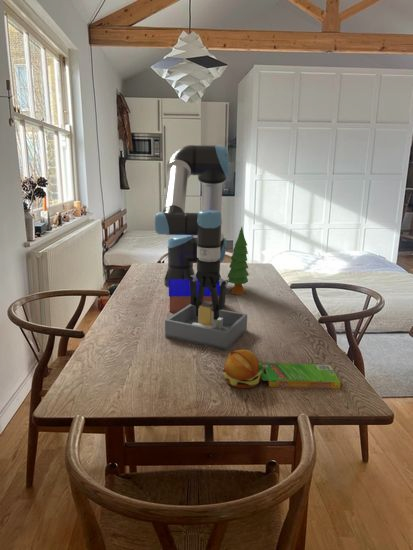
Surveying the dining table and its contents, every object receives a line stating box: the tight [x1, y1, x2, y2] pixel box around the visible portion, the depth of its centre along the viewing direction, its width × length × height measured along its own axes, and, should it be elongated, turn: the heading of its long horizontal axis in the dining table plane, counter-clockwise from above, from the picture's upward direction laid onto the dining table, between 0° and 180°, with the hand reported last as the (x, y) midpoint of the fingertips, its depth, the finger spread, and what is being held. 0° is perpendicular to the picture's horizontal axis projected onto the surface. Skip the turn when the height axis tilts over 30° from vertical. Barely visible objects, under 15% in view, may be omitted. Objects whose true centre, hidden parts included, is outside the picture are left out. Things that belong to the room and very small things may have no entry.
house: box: [168, 279, 220, 313], centre depth 165 cm, size 12×20×12 cm, turn 95°
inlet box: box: [164, 304, 248, 351], centre depth 140 cm, size 22×18×6 cm
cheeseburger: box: [222, 349, 263, 389], centre depth 109 cm, size 10×11×10 cm
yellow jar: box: [199, 301, 213, 326], centre depth 139 cm, size 4×4×9 cm
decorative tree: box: [227, 226, 250, 295], centre depth 182 cm, size 10×9×30 cm
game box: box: [259, 362, 341, 389], centre depth 113 cm, size 3×10×20 cm
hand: (207, 326), depth 140 cm, fingers closed on yellow jar, 4 cm apart
